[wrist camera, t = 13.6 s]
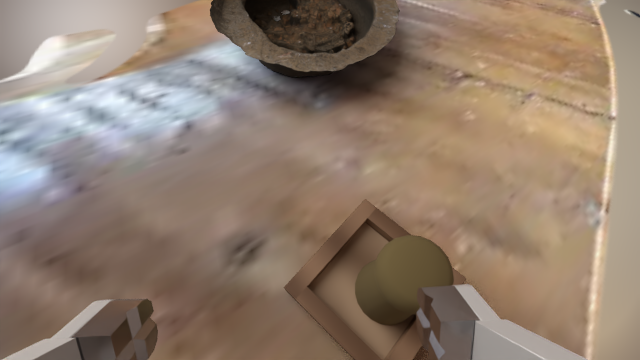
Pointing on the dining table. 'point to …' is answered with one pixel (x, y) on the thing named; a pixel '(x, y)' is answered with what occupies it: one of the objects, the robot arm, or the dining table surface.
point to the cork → (401, 278)
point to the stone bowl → (307, 31)
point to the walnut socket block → (339, 288)
